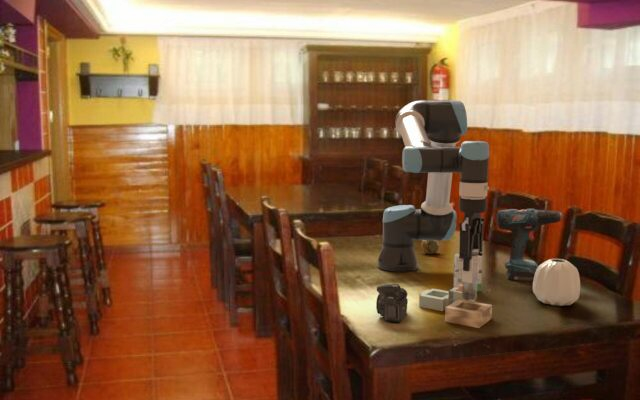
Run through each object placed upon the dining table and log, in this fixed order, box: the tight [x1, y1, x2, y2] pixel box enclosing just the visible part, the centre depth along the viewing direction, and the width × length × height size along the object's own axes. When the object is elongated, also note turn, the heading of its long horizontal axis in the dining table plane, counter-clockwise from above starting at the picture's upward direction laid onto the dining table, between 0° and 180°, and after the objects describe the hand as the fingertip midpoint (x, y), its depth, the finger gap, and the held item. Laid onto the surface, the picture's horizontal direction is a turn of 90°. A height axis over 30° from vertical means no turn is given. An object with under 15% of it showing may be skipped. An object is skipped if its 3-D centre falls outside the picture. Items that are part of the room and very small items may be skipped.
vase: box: [532, 258, 581, 307], centre depth 197 cm, size 14×14×13 cm
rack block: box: [444, 299, 493, 329], centre depth 180 cm, size 10×10×4 cm
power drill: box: [496, 208, 566, 282], centre depth 226 cm, size 9×23×25 cm, turn 78°
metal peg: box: [462, 248, 479, 301], centre depth 179 cm, size 4×4×14 cm
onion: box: [420, 240, 440, 255], centre depth 266 cm, size 8×8×8 cm
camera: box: [375, 283, 409, 323], centre depth 182 cm, size 13×10×10 cm
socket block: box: [418, 286, 476, 312], centre depth 192 cm, size 16×10×6 cm, turn 56°
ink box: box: [453, 253, 483, 292], centre depth 211 cm, size 9×5×12 cm, turn 87°
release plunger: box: [458, 284, 463, 292], centre depth 189 cm, size 3×3×5 cm
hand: (470, 280), depth 179 cm, fingers closed on metal peg, 4 cm apart
